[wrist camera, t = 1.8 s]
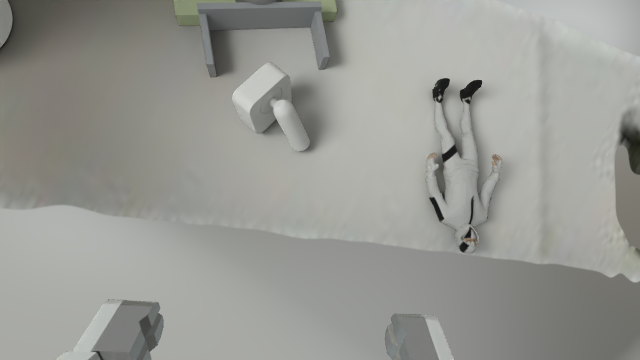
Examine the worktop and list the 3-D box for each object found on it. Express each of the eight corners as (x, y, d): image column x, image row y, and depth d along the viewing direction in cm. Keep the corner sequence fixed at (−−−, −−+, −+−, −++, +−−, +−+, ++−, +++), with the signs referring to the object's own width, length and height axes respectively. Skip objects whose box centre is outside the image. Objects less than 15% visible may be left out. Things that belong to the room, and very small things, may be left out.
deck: (186, 78, 46) (176, 56, 40) (173, -17, 48) (160, -54, 42) (343, 67, 53) (355, 46, 46) (325, -17, 54) (335, -49, 48)
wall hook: (290, 168, 47) (286, 141, 38) (244, 129, 49) (229, 94, 40) (323, 134, 49) (327, 100, 40) (278, 97, 51) (271, 57, 42)
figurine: (498, 79, 52) (520, 254, 47) (476, 96, 59) (493, 252, 53) (426, 76, 51) (440, 255, 46) (412, 93, 57) (422, 252, 52)
